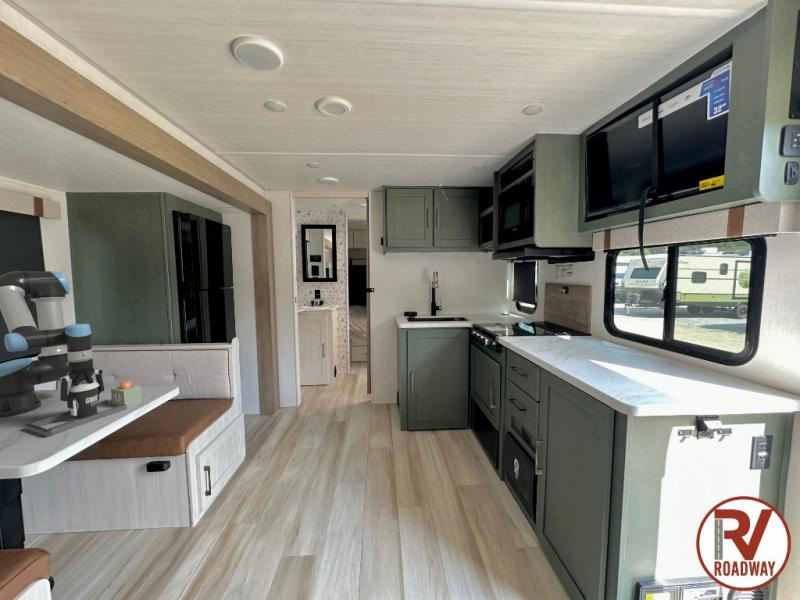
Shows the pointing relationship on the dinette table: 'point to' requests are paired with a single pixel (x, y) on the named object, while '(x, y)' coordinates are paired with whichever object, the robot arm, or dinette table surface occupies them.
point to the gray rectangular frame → (35, 425)
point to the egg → (125, 385)
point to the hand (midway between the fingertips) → (84, 411)
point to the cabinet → (126, 395)
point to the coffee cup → (85, 398)
